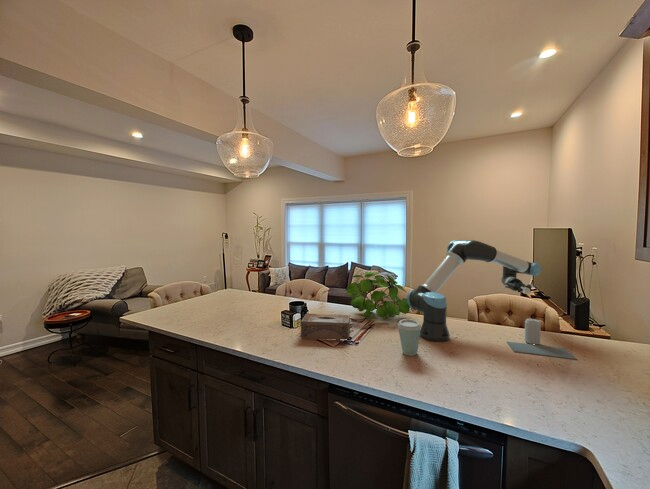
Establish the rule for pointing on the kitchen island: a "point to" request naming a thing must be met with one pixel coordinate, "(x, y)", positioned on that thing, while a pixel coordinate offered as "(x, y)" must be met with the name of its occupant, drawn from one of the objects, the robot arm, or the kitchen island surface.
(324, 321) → the tissue box cover
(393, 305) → the indoor plant
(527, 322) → the beverage can
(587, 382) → the kitchen island surface
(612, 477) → the kitchen island surface
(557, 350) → the blue-grey rectangular board
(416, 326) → the disposable coffee cup
